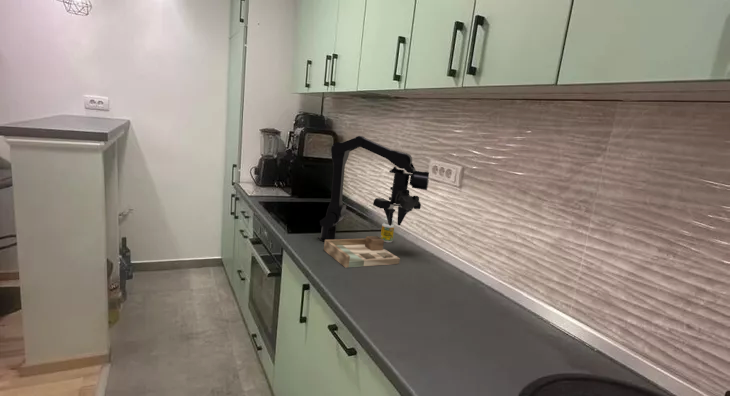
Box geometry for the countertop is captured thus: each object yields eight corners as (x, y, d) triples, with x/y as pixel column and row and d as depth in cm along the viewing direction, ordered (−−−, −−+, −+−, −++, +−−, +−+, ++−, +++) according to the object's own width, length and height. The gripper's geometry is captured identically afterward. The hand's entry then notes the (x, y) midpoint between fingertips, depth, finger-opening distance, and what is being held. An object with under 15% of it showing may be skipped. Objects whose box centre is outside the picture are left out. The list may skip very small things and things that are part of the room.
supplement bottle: (390, 239, 177) (394, 218, 175) (393, 243, 172) (396, 221, 170) (378, 238, 176) (382, 217, 174) (381, 242, 171) (384, 220, 169)
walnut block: (364, 246, 155) (366, 236, 154) (375, 245, 158) (377, 236, 157) (371, 250, 151) (372, 240, 150) (382, 250, 153) (384, 240, 153)
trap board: (323, 250, 150) (324, 239, 150) (373, 247, 162) (375, 238, 161) (345, 267, 135) (346, 256, 135) (399, 263, 146) (400, 253, 146)
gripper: (391, 189, 142) (385, 231, 145) (432, 190, 152) (426, 230, 155) (375, 183, 152) (369, 223, 154) (414, 185, 161) (409, 222, 164)
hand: (394, 225), depth 157 cm, fingers open, 4 cm apart
